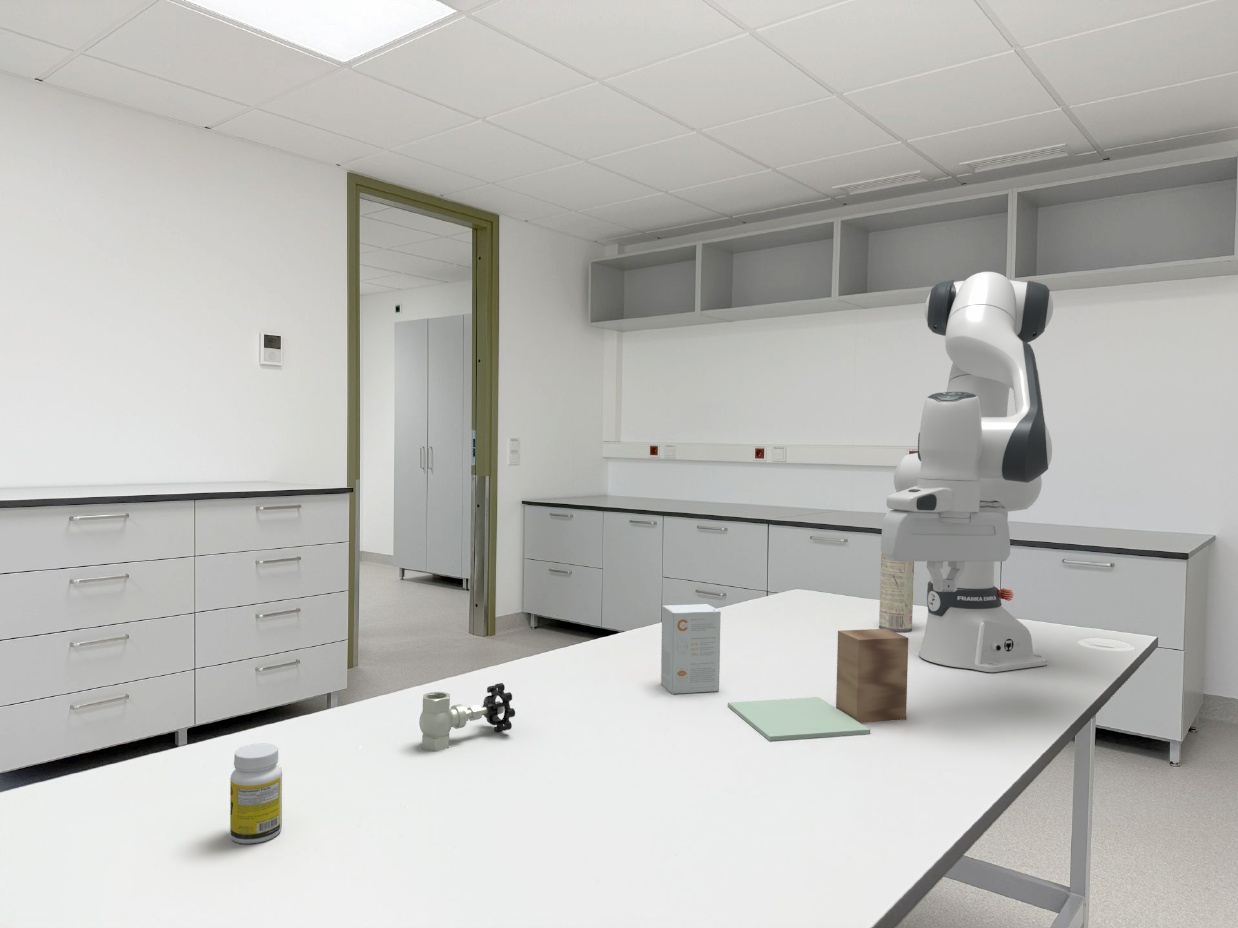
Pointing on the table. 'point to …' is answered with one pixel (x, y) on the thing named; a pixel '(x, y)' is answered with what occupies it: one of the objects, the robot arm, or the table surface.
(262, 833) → the supplement bottle
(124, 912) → the table surface
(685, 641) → the small box
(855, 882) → the table surface
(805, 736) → the green glass pane
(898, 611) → the aerosol can
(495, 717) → the valve
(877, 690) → the walnut block
